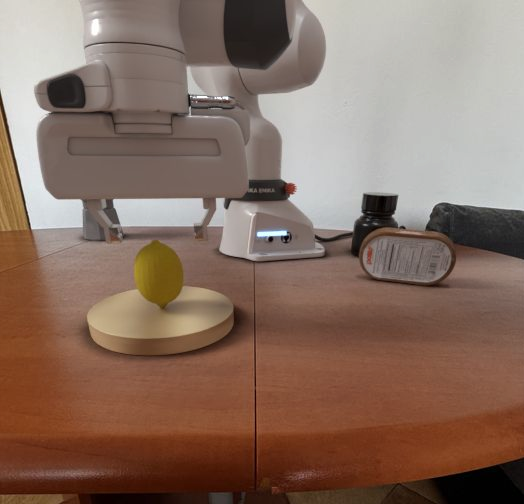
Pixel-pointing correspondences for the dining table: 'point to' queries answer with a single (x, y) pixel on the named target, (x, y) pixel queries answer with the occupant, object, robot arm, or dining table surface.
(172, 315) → the birch disc
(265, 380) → the dining table surface
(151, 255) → the lemon
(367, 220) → the ink bottle
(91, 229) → the coffeepot
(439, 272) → the tin
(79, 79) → the robot arm
